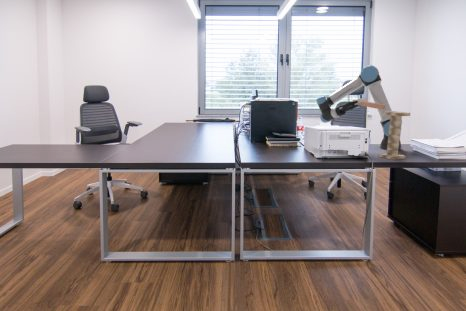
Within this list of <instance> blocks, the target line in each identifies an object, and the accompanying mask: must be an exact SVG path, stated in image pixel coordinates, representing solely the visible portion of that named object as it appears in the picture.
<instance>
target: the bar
mask: <svg viewBox="0 0 466 311" xmlns="http://www.w3.org/2000/svg"><path fill="white" fill-rule="evenodd" d="M355 100H356V99H352V102H354V101H355ZM356 105H360V106H359V107H367V108H372V109H376V110H377V109H385V107H386V105H384V104H378V103H375V102H372V101H371V102H370V101H367V102H366V101H363V102H361V103H359V104H356Z"/></svg>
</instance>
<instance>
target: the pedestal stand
mask: <svg viewBox="0 0 466 311" xmlns="http://www.w3.org/2000/svg"><path fill="white" fill-rule="evenodd" d="M383 115H391V117H390V126H389V136H388V145H387V149H386V152H384V153H383V152H382V153H378V158H382V159H388V160H394V161H396V160H405V159H406V155H405V154H399V150H398V148H399V139H400V140H401V133H400V130H401V131H402V124H401V121H402V122H403V120H402V119H403V117H410V116H411V112H407V111H397V110H396V111H395V110H393V111H383Z"/></svg>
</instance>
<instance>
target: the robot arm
mask: <svg viewBox="0 0 466 311" xmlns="http://www.w3.org/2000/svg"><path fill="white" fill-rule="evenodd" d="M363 86H364V87H365V88H367V89H368V90H369V92H370V94H371V98H372V100H373V103H378V104H384V105H386V107H385V109H376V110H377V112H378V115H379V116H380V126H381V127H382V132H383V137H382V140H381V142H380V145H379V148H380V149H382V150H387V145H388V136H389V126H390V117H391V115H383V111H392V108H391V106H390V104H389V103H390V102H389V101H388V98H387V96H386V93H385V91H384V89H383V87H382V78H381V76H380V71H379V69H378V68H377V67H376V66H374V65H372V64H369V65H365V66H364V67H363V68H362V69H361V71H360V73H359V74H358V75H357V77H356V78H354V79H353V80H351V81H350V82H348V83H347V84H345V85H344V86H341V87H339V89H337V90H336V91H334V92H333V93H331V94H330V95H328V96H326V95H322V96H319V97H317V98H316V100H315V101H316V105H317V106H318V108H319V110H320V112H321V114H320V121H321V122H322V123H324V124H325V123H329V122H331V121H333V120H336V119H338V118H339V117H342V116H344V115H346V113H347V112H349V111H352V110H353V109H356V108H358V107H361V106H360V105H356V104H359V103H361V102H363V101H366V102H368V100H367V97H364V98H362V97H360V98H358V99H354V100H355V101H354V102H353V101H349V102H347V103H345V104H342V105H341V104H340V105H338V106H336V107H333V108H332V106H334V105H335V104H336V103H338V102H339V101H341V100H343V99H344V98H347V96H349V95H350V94H353V92H355V91H356V90H358V89H360V88H361V87H363ZM402 123H403V120H402V121H401V125H402ZM401 131H402V129H401V130H400V134H401V133H402V132H401ZM401 142H402V141H401V138H400V139H399V148H398V151H401V150H402V143H401Z"/></svg>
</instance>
